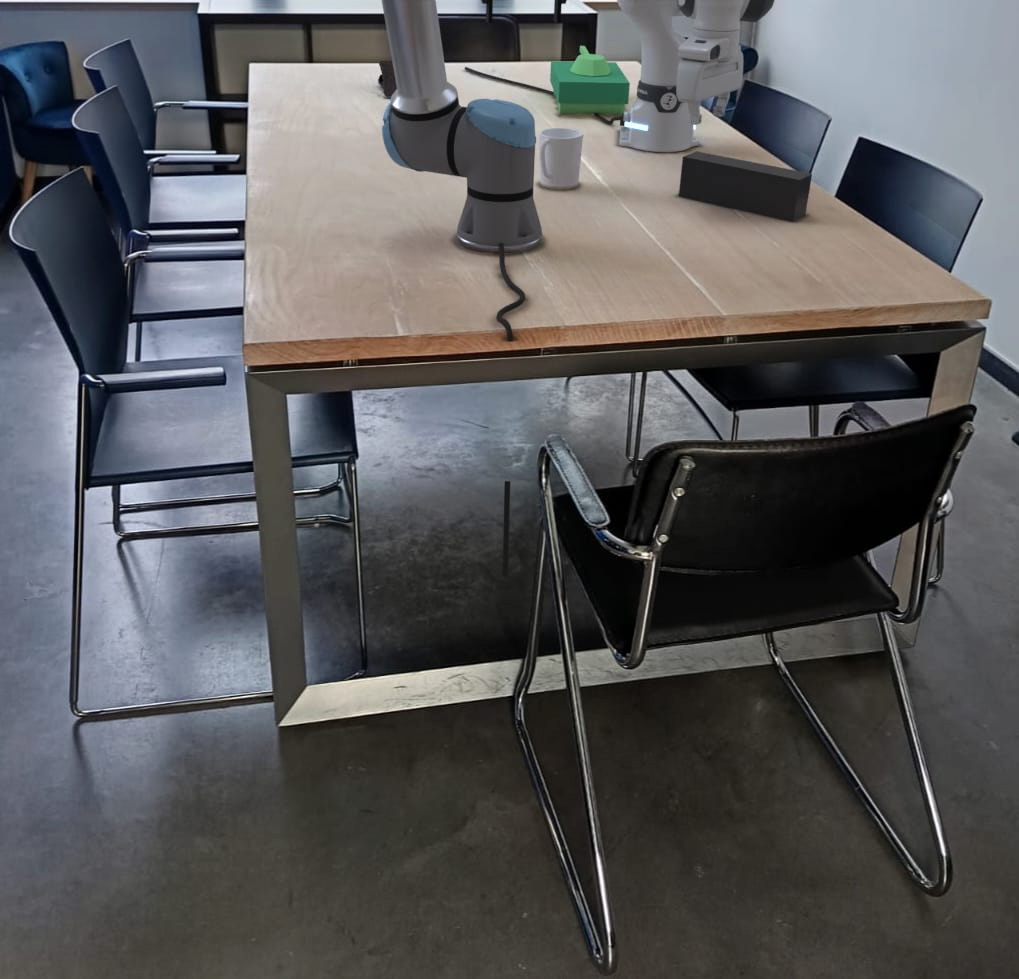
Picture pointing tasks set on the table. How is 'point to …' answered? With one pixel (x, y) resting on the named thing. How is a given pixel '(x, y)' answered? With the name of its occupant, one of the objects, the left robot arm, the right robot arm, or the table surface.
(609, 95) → the toy tank
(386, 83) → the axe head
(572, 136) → the mug
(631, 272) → the table surface
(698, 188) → the bar
